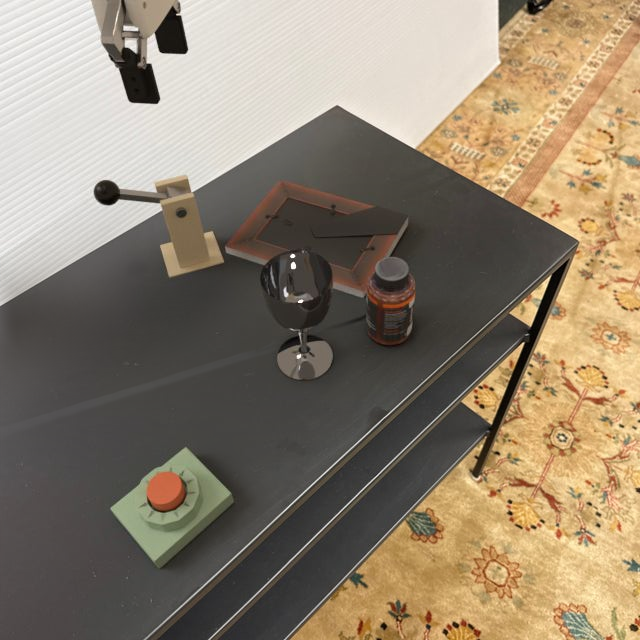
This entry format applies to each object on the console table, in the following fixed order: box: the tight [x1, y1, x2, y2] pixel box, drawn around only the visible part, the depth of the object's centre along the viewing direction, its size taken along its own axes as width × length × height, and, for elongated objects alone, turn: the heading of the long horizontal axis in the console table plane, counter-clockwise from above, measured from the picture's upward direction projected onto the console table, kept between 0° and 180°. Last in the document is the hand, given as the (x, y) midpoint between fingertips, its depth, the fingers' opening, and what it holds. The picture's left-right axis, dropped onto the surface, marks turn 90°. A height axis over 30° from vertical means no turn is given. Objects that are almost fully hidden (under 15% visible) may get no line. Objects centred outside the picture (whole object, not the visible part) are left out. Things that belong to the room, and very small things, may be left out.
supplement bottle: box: [365, 256, 417, 346], centre depth 80 cm, size 6×6×11 cm
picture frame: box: [224, 179, 409, 299], centre depth 94 cm, size 16×2×22 cm
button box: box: [110, 446, 235, 570], centre depth 68 cm, size 10×8×4 cm
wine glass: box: [259, 250, 334, 381], centre depth 76 cm, size 8×8×15 cm
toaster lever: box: [93, 179, 189, 207], centre depth 83 cm, size 12×3×3 cm, turn 110°
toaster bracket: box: [153, 174, 225, 279], centre depth 89 cm, size 8×7×13 cm
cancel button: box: [146, 472, 185, 511], centre depth 66 cm, size 4×4×2 cm
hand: (160, 76), depth 67 cm, fingers open, 9 cm apart
